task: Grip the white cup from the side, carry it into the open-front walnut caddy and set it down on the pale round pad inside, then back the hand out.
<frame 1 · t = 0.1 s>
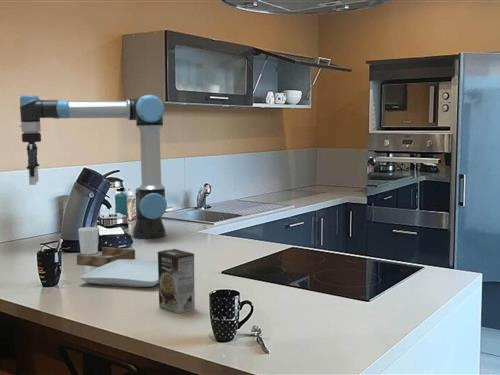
hand: (34, 183, 250), 28 cm above the worktop, tool pointing down, fingers open, 13 cm apart
caddy: (106, 261, 228), on the worktop
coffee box: (176, 308, 168), on the worktop
white cup: (89, 253, 243), on the worktop
square plate: (135, 279, 202), on the worktop
green pump bottle: (122, 225, 311), on the worktop
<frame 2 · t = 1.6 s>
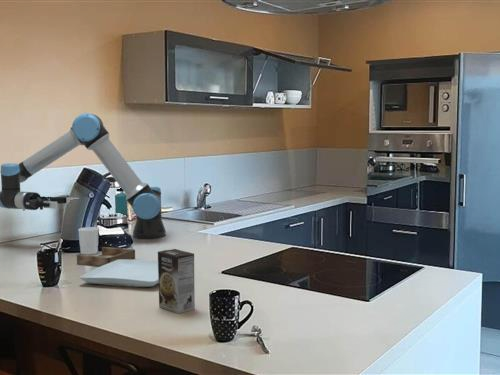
hand: (68, 203, 245), 20 cm above the worktop, tool horizontal, fingers open, 13 cm apart
nothing on the worktop moved.
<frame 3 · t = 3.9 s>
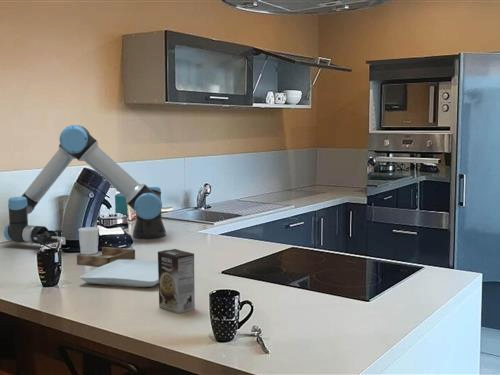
hand: (76, 238, 245), 6 cm above the worktop, tool horizontal, fingers open, 13 cm apart
nothing on the worktop moved.
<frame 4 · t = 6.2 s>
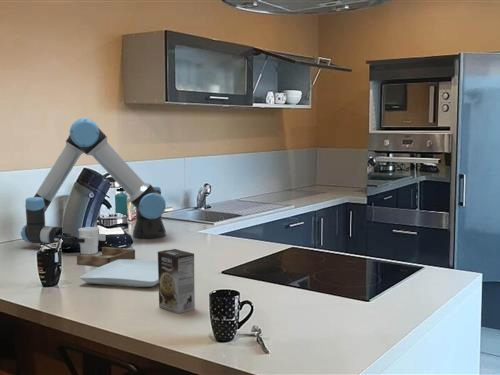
hand: (98, 239, 241), 6 cm above the worktop, tool horizontal, fingers closed on white cup, 8 cm apart
white cup: (89, 253, 243), on the worktop, touching gripper
everything else where it was.
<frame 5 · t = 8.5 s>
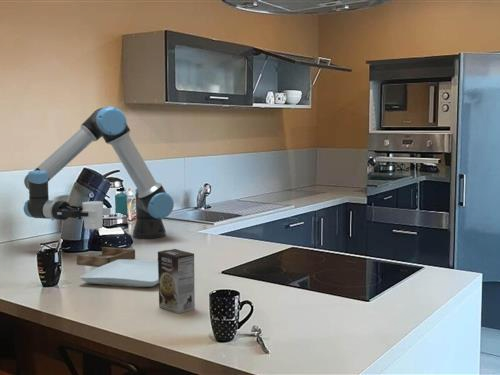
hand: (103, 213, 229), 18 cm above the worktop, tool horizontal, fingers closed on white cup, 8 cm apart
white cup: (93, 228, 232), point 12 cm above the worktop, touching gripper
everything else where it was.
when the fingers open (9 cm above the worktop, at t = 11.2 s): white cup drops 2 cm, resting on caddy.
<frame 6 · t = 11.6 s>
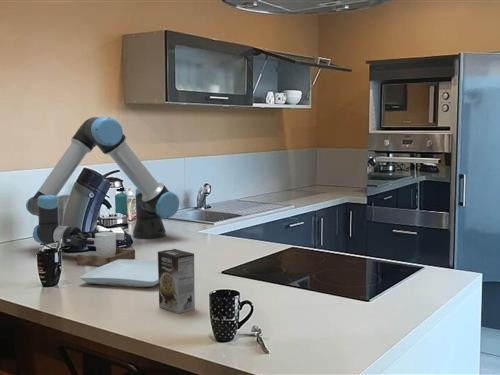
hand: (113, 239, 225), 9 cm above the worktop, tool horizontal, fingers open, 13 cm apart
white cup: (106, 260, 228), point 1 cm above the worktop, touching caddy
everything else where it was.
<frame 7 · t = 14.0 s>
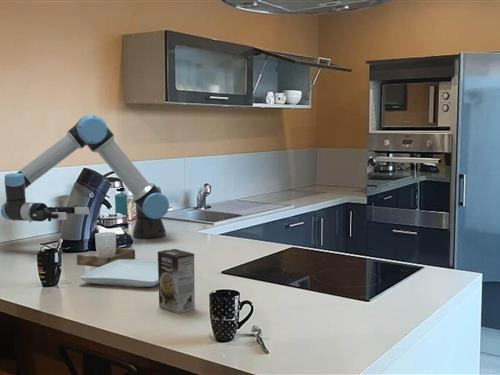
hand: (77, 213, 234), 17 cm above the worktop, tool horizontal, fingers open, 13 cm apart
nothing on the worktop moved.
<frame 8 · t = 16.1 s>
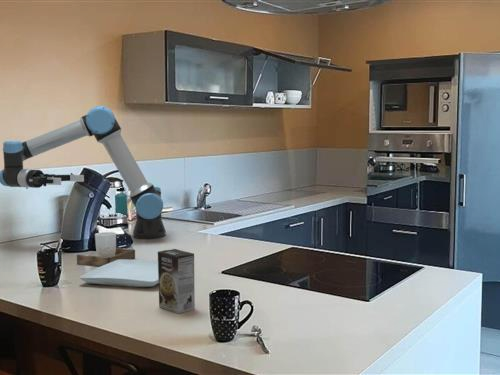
hand: (72, 179, 240), 30 cm above the worktop, tool horizontal, fingers open, 13 cm apart
nothing on the worktop moved.
at the end: white cup inside the target area on the caddy (0.1 cm from its centre), point 0.5 cm above the caddy's base; white cup tilted 0°; the gripper is holding nothing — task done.
